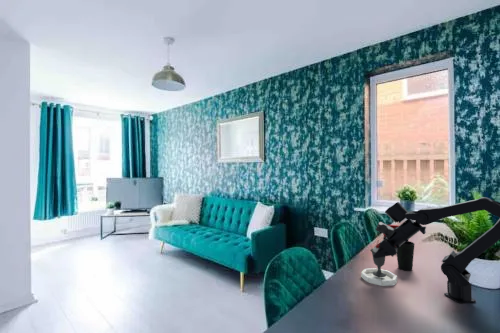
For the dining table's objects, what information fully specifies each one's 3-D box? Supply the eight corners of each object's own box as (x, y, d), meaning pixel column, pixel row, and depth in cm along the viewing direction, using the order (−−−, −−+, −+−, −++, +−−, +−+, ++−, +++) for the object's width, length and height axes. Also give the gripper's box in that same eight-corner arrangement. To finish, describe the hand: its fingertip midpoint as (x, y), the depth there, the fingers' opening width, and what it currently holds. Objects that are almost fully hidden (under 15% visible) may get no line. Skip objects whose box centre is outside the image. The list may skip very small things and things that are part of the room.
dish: (403, 284, 105) (403, 279, 105) (373, 286, 103) (373, 281, 103) (384, 272, 118) (383, 267, 118) (356, 273, 116) (356, 269, 116)
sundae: (376, 278, 107) (375, 241, 107) (367, 272, 113) (366, 237, 113) (391, 277, 107) (390, 241, 107) (382, 271, 114) (381, 236, 114)
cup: (417, 272, 117) (417, 245, 117) (399, 271, 118) (398, 244, 118) (410, 265, 124) (410, 240, 124) (393, 264, 126) (392, 239, 126)
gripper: (391, 213, 116) (364, 235, 122) (385, 220, 101) (355, 245, 107) (412, 233, 112) (384, 254, 118) (409, 243, 96) (377, 268, 102)
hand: (375, 254), depth 111 cm, fingers closed on sundae, 6 cm apart
